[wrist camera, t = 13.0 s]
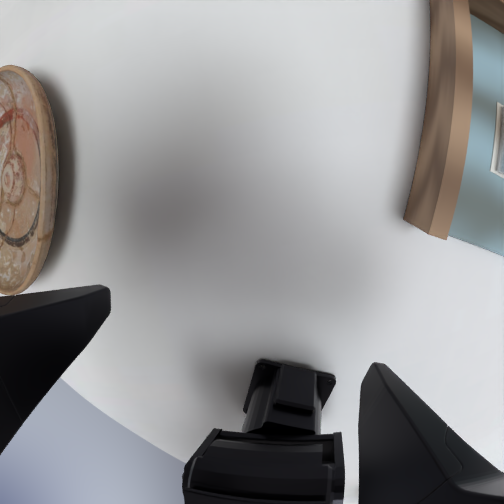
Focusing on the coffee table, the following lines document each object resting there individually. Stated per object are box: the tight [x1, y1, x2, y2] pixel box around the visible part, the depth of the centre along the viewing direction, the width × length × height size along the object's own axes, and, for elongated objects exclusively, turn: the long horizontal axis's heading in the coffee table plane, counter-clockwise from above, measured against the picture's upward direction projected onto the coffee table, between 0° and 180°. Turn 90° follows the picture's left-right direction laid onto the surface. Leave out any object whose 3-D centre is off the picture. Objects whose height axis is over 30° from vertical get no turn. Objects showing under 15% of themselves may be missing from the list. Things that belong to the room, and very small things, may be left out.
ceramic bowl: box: [0, 65, 59, 295], centre depth 20 cm, size 23×24×5 cm
